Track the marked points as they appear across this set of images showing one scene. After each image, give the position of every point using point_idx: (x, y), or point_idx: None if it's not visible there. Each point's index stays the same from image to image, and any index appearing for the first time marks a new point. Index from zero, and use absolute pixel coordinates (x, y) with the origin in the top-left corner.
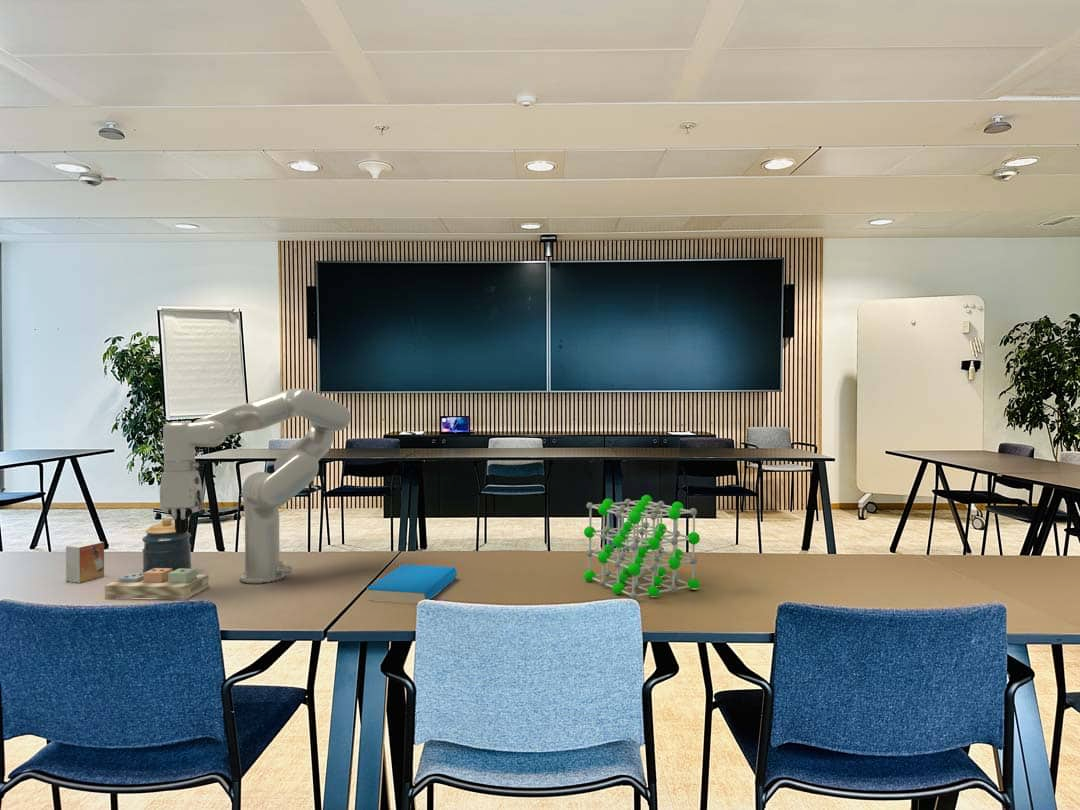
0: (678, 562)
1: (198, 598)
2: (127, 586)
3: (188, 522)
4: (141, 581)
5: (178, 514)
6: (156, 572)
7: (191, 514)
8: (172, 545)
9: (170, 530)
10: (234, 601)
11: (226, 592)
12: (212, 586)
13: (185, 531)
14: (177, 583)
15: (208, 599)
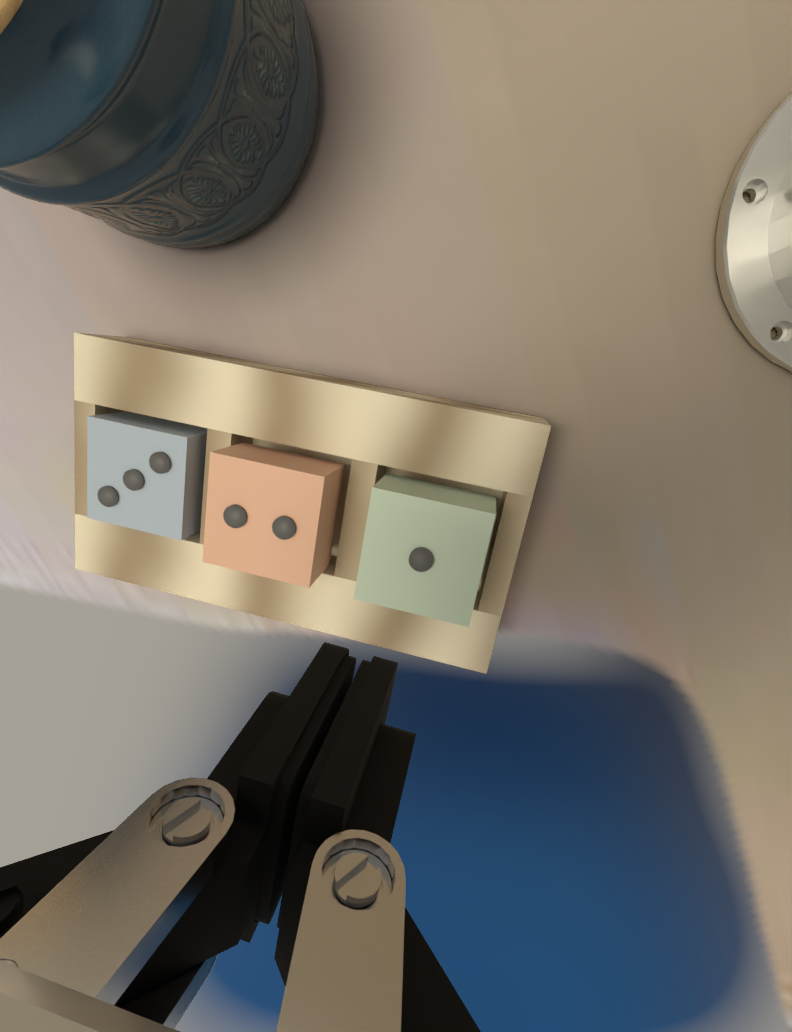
0: None
1: (548, 618)
2: (186, 594)
3: (399, 796)
4: None
5: (180, 931)
6: (273, 565)
7: (441, 969)
8: (125, 114)
9: None
10: (753, 702)
11: (676, 537)
12: (561, 399)
13: (385, 713)
14: None
15: (605, 644)
